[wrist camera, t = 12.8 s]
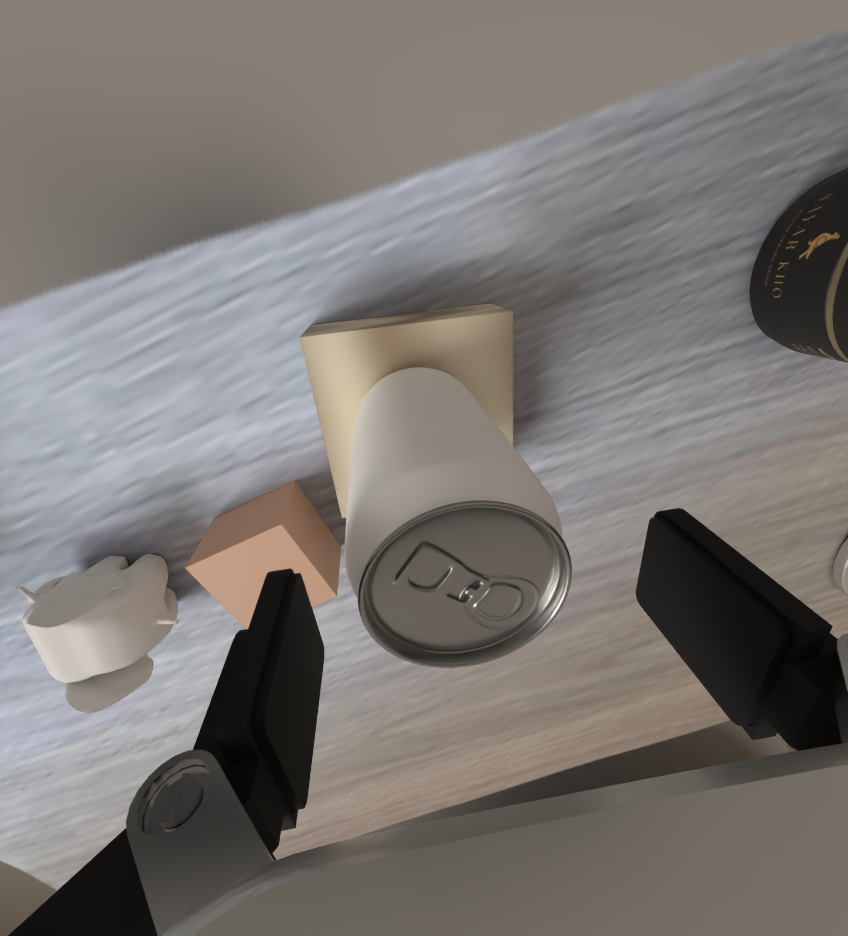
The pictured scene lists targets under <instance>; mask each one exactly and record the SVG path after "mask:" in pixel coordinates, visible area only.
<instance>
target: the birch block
mask: <svg viewBox="0 0 848 936" xmlns="http://www.w3.org/2000/svg"><path fill="white" fill-rule="evenodd" d="M300 341H301V345H302V350H303V354H304V358H305V362H306V367H307V371H308V375H309V379H310V384H311V388H312V392H313V396H314V401H315V405H316V409H317V413H318V418H319V422H320V426H321V431H322V435H323V439H324V443H325V448H326V452H327V456H328V460H329V465H330V469H331V473H332V477H333V482H334V486H335V490H336V494H337V499H338V503H339V507H340V511H341V516H342V518H347V505H348V492H349V480H350V467H351V456H352V445H353V434H354V425H355V419H356V414H357V411H358V408H359V406H360V404H361V402H362V400H363V398H364V397H365V395H366V394H367V392H368V391H369V390H370V389H371V388H372V387H373V386H374V385H375V384H376V383H377V382H378V381H380V380H381V379H383V378H384V377H386V376H388V375H390V374H392V373H394V372H396V371H399V370H403V369H407V368H416V367H424V368H432V369H436V370H440V371H442V372H445V373H447V374H449V375H451V376H452V377H454V378H456V379H457V380H458V381H459V382H461V383H462V384H463V385H464V386H465V387H466V388H467V389H468V390H469V392H470V393H471V394H472V395H473V396H474V398H475V399H476V400H477V401H478V403H479V404H480V405H481V406H482V408H483V409H484V410H485V411H486V413H487V414H488V415H489V416H490V418H491V419H492V420H493V421H494V423H495V424H496V425H497V426H498V428H499V429H500V430H501V432H502V433H503V434H504V435H505V437H506V438H507V439H508V440H509V442H510V443H511V444H512V446H513V311H512V310H509V309H506V308H503V307H500V306H497V305H494V304H491V303H489V304H481V305H473V306H464V307H456V308H448V309H440V310H432V311H423V312H415V313H407V314H399V315H390V316H382V317H374V318H366V319H358V320H349V321H341V322H333V323H325V324H317V325H310V326H309V327H308V328H307V330H306V331H305V332H304V333H303V334H302V335H301V336H300Z"/></svg>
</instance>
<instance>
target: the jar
mask: <svg viewBox="0 0 848 936" xmlns="http://www.w3.org/2000/svg"><path fill="white" fill-rule="evenodd" d="M750 304H751V308H752V312H753V316H754V319H755V321H756V323H757V325H758V326H759V328H760V329H761V330H762V332H763V333H765V334H766V335H767V336H768V337H770V338H771V339H773V340H774V341H776V342H778V343H779V344H781V345H783V346H785V347H787V348H789V349H791V350H794V351H797V352H800V353H805V354H809V355H814V356H819V357H823V358H828V359H833V360H838V361H843V362H847V363H848V168H847V169H845V170H843V171H841V172H839V173H837V174H835V175H832V176H830V177H828V178H827V179H825V180H823V181H821V182H820V183H818V184H817V185H815V186H814V187H812V188H811V189H810V190H808V191H807V192H806V193H805V194H804V195H802V196H801V197H800V198H799V199H798V200H797V201H796V202H795V203H794V204H793V205H792V206H791V207H790V208H789V209H788V210H787V211H786V213H785V214H784V215H783V216H782V217H781V218H780V219H779V221H778V222H777V223H776V225H775V226H774V227H773V229H772V230H771V232H770V233H769V235H768V236H767V238H766V240H765V242H764V244H763V245H762V247H761V250H760V252H759V254H758V256H757V259H756V262H755V265H754V268H753V272H752V276H751V282H750Z"/></svg>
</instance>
